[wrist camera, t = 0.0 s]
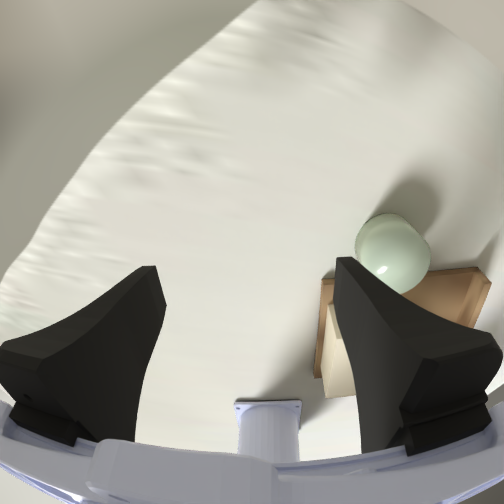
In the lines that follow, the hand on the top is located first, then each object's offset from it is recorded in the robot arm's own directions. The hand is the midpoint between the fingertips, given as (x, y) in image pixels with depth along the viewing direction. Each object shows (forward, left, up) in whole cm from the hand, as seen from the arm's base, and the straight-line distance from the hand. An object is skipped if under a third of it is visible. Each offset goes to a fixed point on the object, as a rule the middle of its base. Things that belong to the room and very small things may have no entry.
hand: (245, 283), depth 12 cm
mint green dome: (-4, -10, -10) cm, 15 cm away
